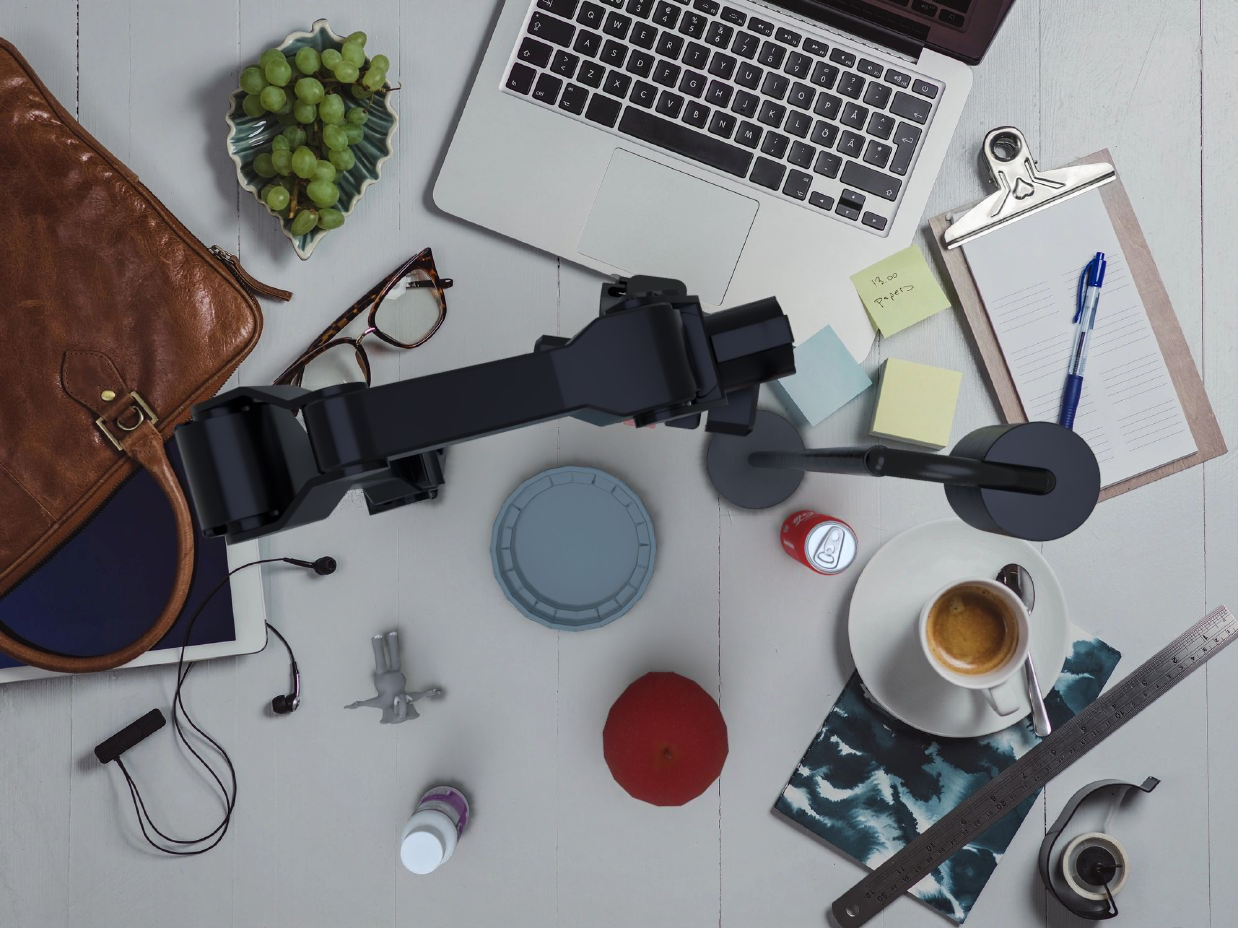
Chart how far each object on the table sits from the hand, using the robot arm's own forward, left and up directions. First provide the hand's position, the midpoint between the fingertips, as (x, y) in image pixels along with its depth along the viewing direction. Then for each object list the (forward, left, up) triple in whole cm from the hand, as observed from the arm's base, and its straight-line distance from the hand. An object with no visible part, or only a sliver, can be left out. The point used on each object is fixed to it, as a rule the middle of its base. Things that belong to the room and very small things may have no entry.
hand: (643, 394), depth 78 cm
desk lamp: (+15, -5, -8) cm, 18 cm away
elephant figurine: (-22, -32, -8) cm, 39 cm away
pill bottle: (-15, -45, -8) cm, 48 cm away
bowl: (-5, -16, -8) cm, 18 cm away
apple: (+6, -32, -8) cm, 33 cm away
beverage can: (+18, -12, -8) cm, 23 cm away
